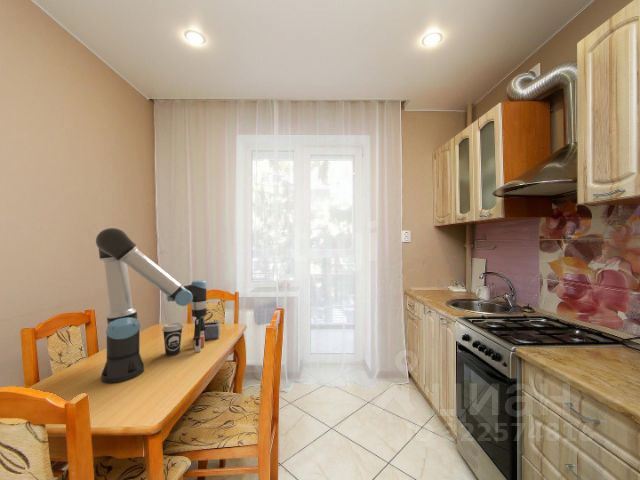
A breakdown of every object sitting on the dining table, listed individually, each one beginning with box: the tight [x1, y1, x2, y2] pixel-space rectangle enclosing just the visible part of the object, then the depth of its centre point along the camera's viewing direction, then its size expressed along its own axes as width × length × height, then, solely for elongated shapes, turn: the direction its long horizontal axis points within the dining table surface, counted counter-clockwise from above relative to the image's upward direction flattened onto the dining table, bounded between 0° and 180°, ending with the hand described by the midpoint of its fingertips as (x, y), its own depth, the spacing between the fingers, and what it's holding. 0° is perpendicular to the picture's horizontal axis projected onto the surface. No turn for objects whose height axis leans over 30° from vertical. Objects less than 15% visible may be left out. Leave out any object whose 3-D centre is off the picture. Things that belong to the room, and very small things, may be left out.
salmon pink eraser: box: [193, 335, 206, 350], centre depth 147 cm, size 2×5×6 cm, turn 106°
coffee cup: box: [161, 321, 184, 357], centre depth 139 cm, size 10×10×15 cm
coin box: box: [203, 320, 221, 341], centre depth 163 cm, size 10×10×8 cm
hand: (199, 346), depth 147 cm, fingers open, 13 cm apart
